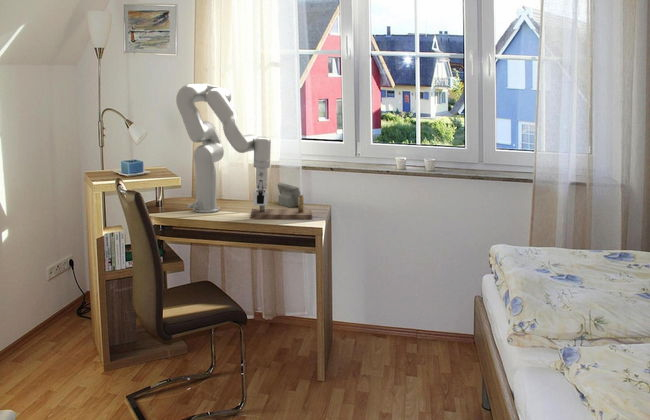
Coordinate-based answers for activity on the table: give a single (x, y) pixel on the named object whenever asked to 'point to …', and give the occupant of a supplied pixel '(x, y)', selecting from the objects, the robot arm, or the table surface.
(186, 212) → the table surface
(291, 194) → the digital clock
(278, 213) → the board
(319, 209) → the table surface
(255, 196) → the white cube
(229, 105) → the robot arm
